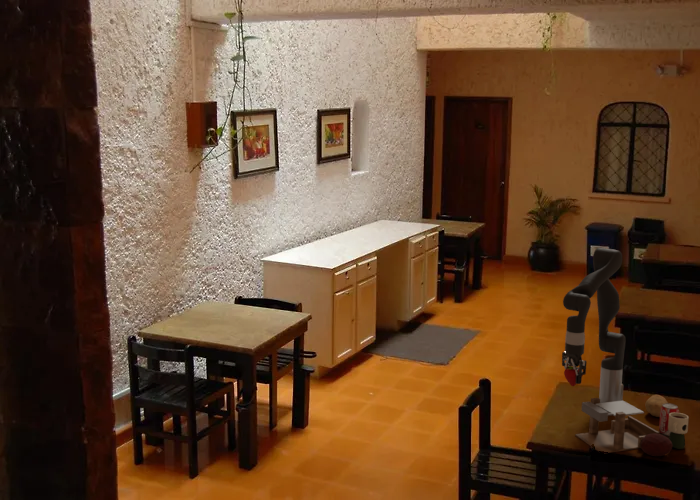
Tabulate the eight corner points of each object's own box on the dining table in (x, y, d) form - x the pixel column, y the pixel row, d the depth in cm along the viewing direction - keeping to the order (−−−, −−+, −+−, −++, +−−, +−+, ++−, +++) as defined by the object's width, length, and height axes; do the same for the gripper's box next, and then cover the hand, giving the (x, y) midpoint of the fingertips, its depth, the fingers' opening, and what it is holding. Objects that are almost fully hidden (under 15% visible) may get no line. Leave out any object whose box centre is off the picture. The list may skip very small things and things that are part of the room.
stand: (629, 428, 315) (631, 393, 313) (658, 445, 298) (661, 409, 296) (575, 435, 308) (577, 400, 305) (602, 453, 291) (604, 416, 288)
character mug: (682, 454, 291) (684, 421, 289) (662, 449, 295) (665, 417, 293) (689, 444, 299) (692, 413, 297) (670, 440, 304) (673, 409, 302)
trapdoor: (622, 405, 309) (623, 397, 309) (643, 416, 297) (644, 408, 297) (580, 410, 304) (581, 402, 303) (600, 422, 291) (601, 413, 291)
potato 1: (643, 419, 326) (644, 401, 324) (645, 408, 338) (646, 391, 337) (668, 423, 322) (669, 405, 320) (669, 411, 334) (670, 394, 333)
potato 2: (669, 451, 294) (671, 430, 292) (673, 463, 283) (675, 442, 282) (638, 447, 297) (639, 427, 295) (641, 459, 286) (642, 438, 285)
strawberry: (579, 390, 305) (581, 366, 304) (561, 386, 309) (562, 363, 308) (584, 385, 310) (585, 362, 308) (565, 382, 314) (566, 359, 313)
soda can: (654, 431, 312) (656, 403, 311) (668, 429, 315) (670, 401, 313) (667, 438, 306) (669, 409, 304) (681, 435, 308) (683, 407, 307)
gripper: (593, 345, 301) (591, 385, 304) (572, 336, 314) (570, 374, 317) (577, 347, 299) (575, 387, 302) (557, 337, 312) (555, 376, 315)
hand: (572, 380), depth 309 cm, fingers closed on strawberry, 7 cm apart
